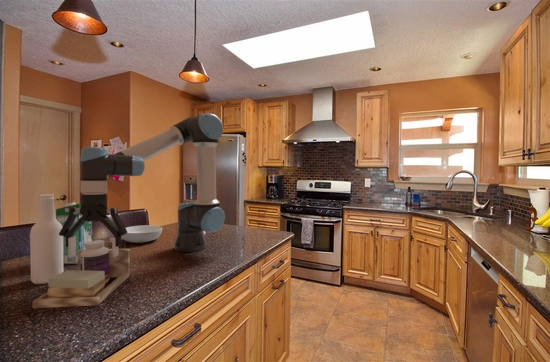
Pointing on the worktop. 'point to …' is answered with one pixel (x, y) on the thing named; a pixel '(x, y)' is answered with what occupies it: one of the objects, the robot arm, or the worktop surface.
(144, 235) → the serving bowl
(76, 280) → the offcut top
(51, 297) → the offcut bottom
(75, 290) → the block
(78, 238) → the milk carton
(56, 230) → the alcohol
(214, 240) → the worktop surface
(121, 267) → the rack
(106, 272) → the pill bottle
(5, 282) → the worktop surface
